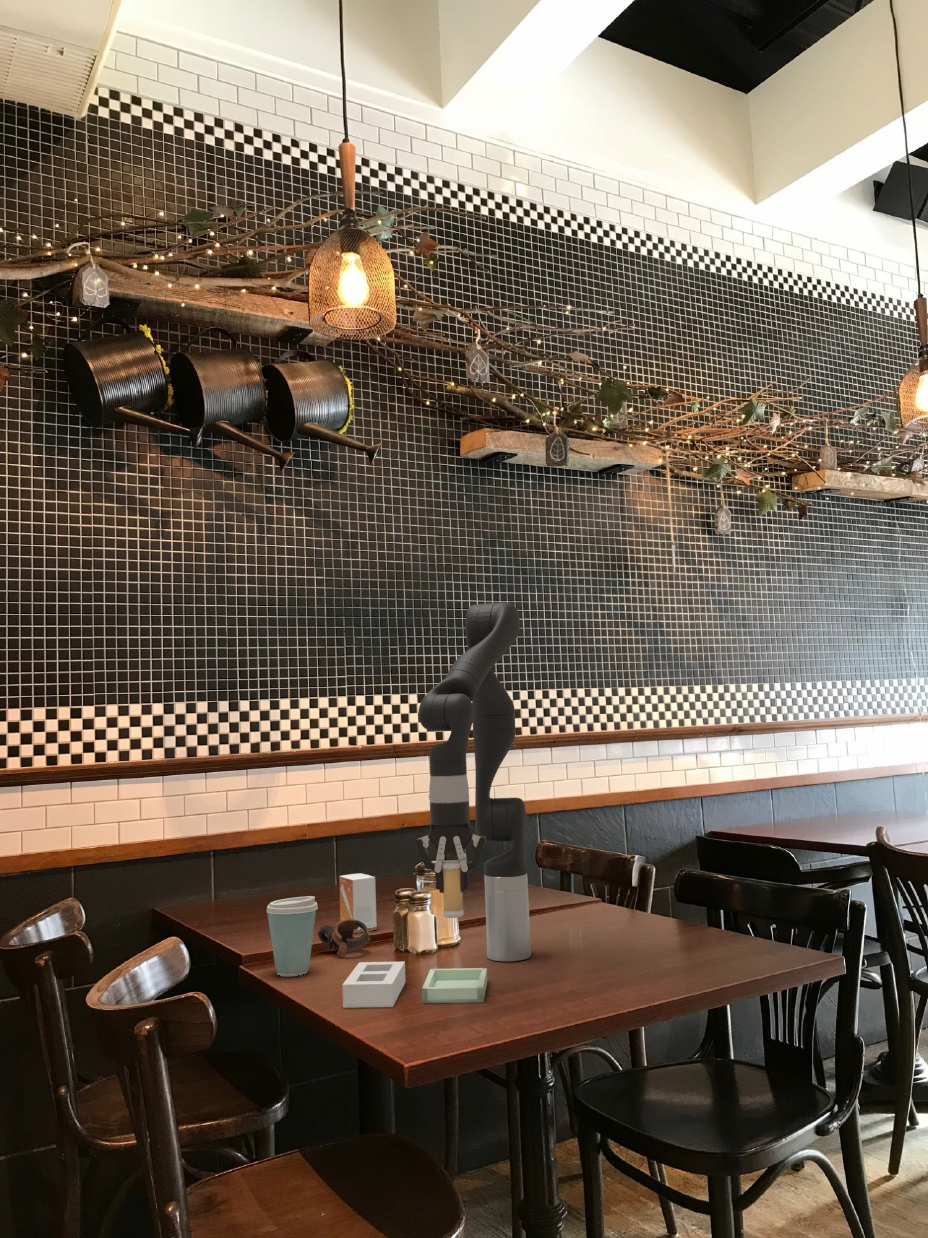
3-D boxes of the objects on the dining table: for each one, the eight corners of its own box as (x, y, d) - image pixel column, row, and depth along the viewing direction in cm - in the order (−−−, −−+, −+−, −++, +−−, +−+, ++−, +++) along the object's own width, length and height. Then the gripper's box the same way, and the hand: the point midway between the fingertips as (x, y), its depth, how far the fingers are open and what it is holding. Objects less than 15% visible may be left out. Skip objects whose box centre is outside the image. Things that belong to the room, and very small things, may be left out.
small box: (339, 929, 243) (338, 875, 244) (363, 925, 246) (361, 872, 247) (353, 935, 236) (352, 879, 237) (377, 931, 239) (376, 876, 240)
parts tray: (431, 982, 190) (430, 969, 191) (487, 981, 190) (487, 968, 190) (422, 1003, 176) (421, 989, 177) (483, 1002, 176) (482, 988, 176)
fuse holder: (359, 983, 191) (359, 962, 192) (405, 982, 191) (404, 961, 191) (343, 1008, 176) (342, 984, 176) (392, 1007, 175) (392, 984, 175)
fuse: (444, 914, 186) (442, 860, 187) (464, 913, 186) (462, 860, 187) (442, 918, 183) (440, 863, 184) (462, 918, 182) (460, 863, 183)
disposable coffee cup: (259, 980, 197) (258, 903, 198) (276, 966, 208) (275, 894, 209) (310, 980, 196) (309, 903, 197) (325, 966, 206) (323, 893, 208)
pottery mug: (372, 949, 222) (376, 920, 219) (360, 978, 214) (364, 948, 211) (321, 936, 224) (324, 907, 221) (307, 964, 215) (310, 934, 212)
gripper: (487, 796, 190) (491, 887, 188) (415, 799, 191) (417, 889, 189) (485, 800, 182) (489, 894, 181) (409, 802, 183) (412, 896, 182)
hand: (452, 891), depth 185 cm, fingers closed on fuse, 3 cm apart
